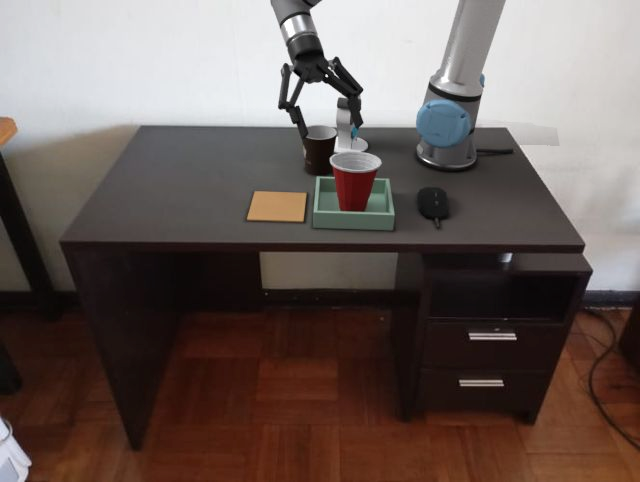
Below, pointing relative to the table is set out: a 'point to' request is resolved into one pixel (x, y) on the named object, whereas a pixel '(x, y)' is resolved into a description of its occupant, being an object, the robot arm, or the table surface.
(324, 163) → the coffee mug
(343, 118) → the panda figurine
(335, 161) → the plastic cup
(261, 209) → the cork mat
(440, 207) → the gaming mouse
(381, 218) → the tray
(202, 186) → the table surface
